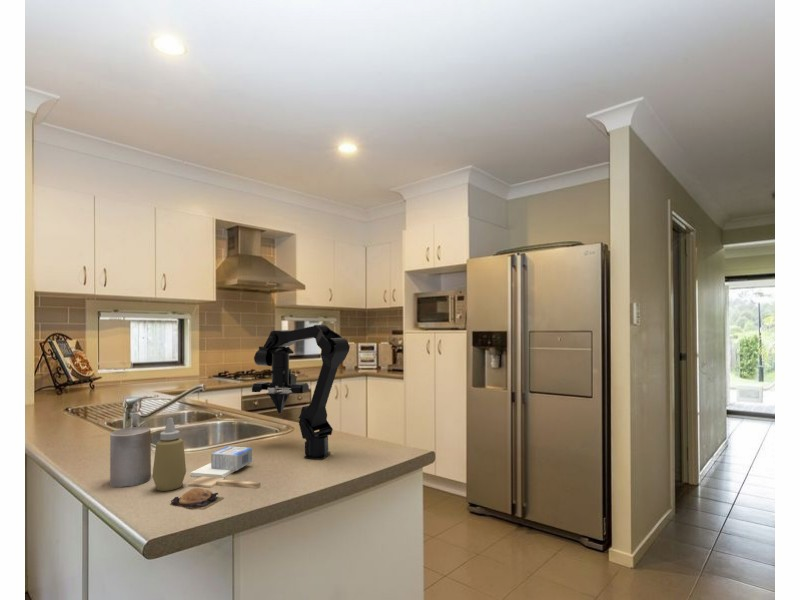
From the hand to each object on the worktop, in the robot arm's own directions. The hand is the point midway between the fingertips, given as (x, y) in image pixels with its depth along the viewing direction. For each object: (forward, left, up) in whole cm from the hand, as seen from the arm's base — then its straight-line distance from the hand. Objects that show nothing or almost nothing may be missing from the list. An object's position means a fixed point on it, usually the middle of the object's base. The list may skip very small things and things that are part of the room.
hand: (280, 413), depth 160 cm
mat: (+7, +23, -12) cm, 27 cm away
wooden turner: (-3, +35, -12) cm, 37 cm away
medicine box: (-1, +23, -9) cm, 25 cm away
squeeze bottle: (+11, +40, -12) cm, 43 cm away
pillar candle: (+25, +38, -12) cm, 47 cm away
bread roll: (-2, +47, -13) cm, 49 cm away
